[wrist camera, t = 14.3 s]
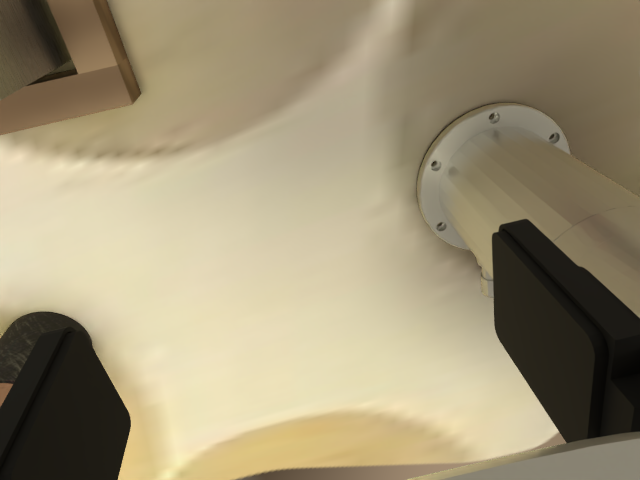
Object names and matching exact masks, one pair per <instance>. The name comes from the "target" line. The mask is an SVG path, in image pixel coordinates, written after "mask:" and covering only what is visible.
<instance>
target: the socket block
mask: <svg viewBox="0 0 640 480" xmlns="http://www.w3.org/2000/svg"><path fill="white" fill-rule="evenodd" d="M47 2H48V4H49V6H50V9H51V11H52V13H53V16H54V18H55V20H56V23H57V25H58V27H59V30H60V32H61V35H62V37H63V39H64V42H65V44H66V46H67V49H68V51H69V53H70V56H71V58H72V60H73V63H74V65H75V67H76V69H74V70H69V71H65V72H61V73H56V74H52V75H48V76H43V77H41V78H39V79H37V80H35V81H34V82H32V83H30V84H28V85H27V86H25V87H23V88H21V89H20V90H18V91H16V92H14V93H12V94H11V95H9V96H7V97H5V98H4V99H2V100H0V135H3V134H7V133H11V132H16V131H20V130H24V129H28V128H33V127H37V126H41V125H46V124H50V123H54V122H59V121H63V120H67V119H72V118H76V117H80V116H84V115H89V114H93V113H97V112H102V111H106V110H110V109H115V108H119V107H123V106H127V105H132V104H133V103H134V102H135V101H136V99H137V98H138V97H139V96H140V94H141V92H140V89H139V87H138V84H137V81H136V79H135V76H134V73H133V71H132V68H131V65H130V62H129V60H128V57H127V54H126V52H125V49H124V46H123V44H122V41H121V38H120V36H119V33H118V30H117V28H116V25H115V22H114V19H113V17H112V14H111V11H110V9H109V6H108V3H107V1H106V0H47Z"/></svg>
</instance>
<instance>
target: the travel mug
mask: <svg viewBox="0 0 640 480" xmlns="http://www.w3.org/2000/svg"><path fill="white" fill-rule="evenodd" d="M68 326H69V327H73V328H74V329H75V330H76V331H82V332H83V333H84V334H85V335H86V337H87V339H88V340H89V342H90V344H91V346H92V342H91V339H90V336H89V335H88V333H87V332H86V330H85V329H84V328H83V327H82V326H81V325H80V324H78V323H77V322H76V321H74V320H72V319H70V318H68V317H66V316H63V315H60V314H57V313H51V312H37V313H31V314H27V315H25V316H22V317H21V318H19V319H17V320H16V321H15V322H13V323H12V324H11V326H10V327H9V328H8V329H7V331H6V332H5V333H4V335H3V336H2V337H1V339H0V407H1V405H2V403H3V402H4V400H5V398H6V396H7V394H8V393H9V391H10V389H11V387H12V385H13V384H14V382H15V380H16V378H17V376H18V374H19V373H20V371H21V369H22V367H23V365H24V364H25V362H26V360H27V358H28V356H29V355H30V353H31V351H32V349H33V347H34V346H35V344H36V342H37V340H38V338H39V337H40V335H41V334H42V333H44V332H47V331H51V330H56V329H60V328H64V327H68Z"/></svg>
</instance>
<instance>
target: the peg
mask: <svg viewBox="0 0 640 480" xmlns="http://www.w3.org/2000/svg"><path fill="white" fill-rule="evenodd" d="M70 60H72V58H71V56H70V53H69V51H68V49H67V46H66V44H65V42H64V39H63V37H62V35H61V32H60V30H59V27H58V25H57V23H56V20H55V18H54V16H53V13H52V11H51V9H50V6H49V4H48V2H47V0H0V100H2V99H4V98H5V97H7V96H9V95H11V94H12V93H14V92H16V91H18V90H20V89H21V88H23V87H25V86H27V85H28V84H30V83H32V82H34V81H35V80H37V79H39V78H41V77H42V76H44V75H46V74H48V73H49V72H51V71H53V70H55V69H56V68H58V67H60V66H62V65H63V64H65V63H67V62H69V61H70Z"/></svg>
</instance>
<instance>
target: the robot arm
mask: <svg viewBox="0 0 640 480" xmlns="http://www.w3.org/2000/svg"><path fill="white" fill-rule="evenodd" d="M491 114H492V116H491V117H490V118H489V116H490V115H491ZM434 161H435V163H434V164H433V165H431V164H432V162H434ZM417 199H418V203H419V208H420V211H421V213H422V215H423V217H424V219H425V221H426V223H427V224H428V225H429V227H430V228H431V230H432V231H433V232H434V233H435V234H436V235H437V236H438V237H439V238H440V239H442V240H443V241H445V242H447V243H448V244H450V245H452V246H455V247H458V248H461V249H465V250H471V251H472V252H473V254H474V255H475V256H476V260H477V263H478V265H480V266H481V267H482V272H481V289H482V293H483V294H484V295H485V296H487V297H492V298H494V321H495V330H496V333H497V336H498V338H499V340H500V342H501V343H502V345H503V346H504V348H505V350H506V351H507V353H508V354H509V356H510V357H511V359H512V360H513V362H514V363H515V365H516V366H517V368H518V369H519V371H520V372H521V374H522V375H523V377H524V379H525V380H526V382H527V383H528V385H529V386H530V388H531V389H532V391H533V392H534V394H535V395H536V397H537V398H538V400H539V401H540V403H541V404H542V406H543V408H544V409H545V411H546V412H547V414H548V415H549V417H550V418H551V420H552V421H553V423H554V424H555V426H556V427H557V429H558V430H559V432H560V433H561V435H562V436H563V438H564V439H565V441H566V442H567V443H566V444H561V445H557V446H552V447H548V448H542V449H538V450H533V451H529V452H524V453H519V454H515V455H510V456H506V457H501V458H497V459H492V460H488V461H484V462H479V463H475V464H471V465H467V466H463V467H458V468H454V469H450V470H445V471H441V472H437V473H432V474H428V475H424V476H420V477H415V478H411V479H407V480H640V197H638V196H637V195H635V194H633V193H632V192H630V191H628V190H627V189H625V188H624V187H622V186H620V185H619V184H617V183H615V182H614V181H612V180H610V179H609V178H607V177H606V176H604V175H602V174H601V173H599V172H597V171H596V170H594V169H592V168H591V167H589V166H588V165H586V164H584V163H583V162H581V161H579V160H578V159H576V158H574V157H573V156H571V152H570V148H569V145H568V141H567V139H566V137H565V135H564V133H563V131H562V129H561V128H560V127H559V126H558V125H557V124H556V123H555V121H554V120H553V119H552V118H550V117H549V116H547V115H545V114H544V113H542V112H541V111H539V110H537V109H534V108H532V107H530V106H527V105H522V104H518V103H497V104H492V105H486V106H483V107H481V108H478V109H475V110H473V111H470V112H468V113H467V114H465V115H463V116H462V117H460V118H458V119H457V120H455V121H454V122H453V123H452V124H451V125H449V126H448V127H447V128H446V129H445V130H443V132H442V133H441V134H440V135H439V136H438V137H437V139H436V140H435V141H434V142H433V144H432V145H431V147H430V149H429V150H428V152H427V153H426V155H425V157H424V160H423V162H422V165H421V168H420V170H419V176H418V181H417ZM438 223H439V224H438ZM130 427H131V420H130V415H129V412H128V410H127V409H126V407H125V405H124V403H123V401H122V400H121V398H120V396H119V394H118V392H117V391H116V389H115V387H114V385H113V383H112V382H111V380H110V378H109V376H108V375H107V373H106V371H105V369H104V367H103V366H102V364H101V362H100V360H99V358H98V357H97V355H96V353H95V351H94V349H93V348H92V346H91V344H90V342H89V340H88V339H87V337H86V335H85V334H84V333H83V332H82V331H76V330H75V329H74V328H73V327H69V326H68V327H64V328H60V329H56V330H51V331H47V332H44V333H42V334H41V335H40V337H39V338H38V340H37V342H36V344H35V346H34V347H33V349H32V351H31V353H30V355H29V356H28V358H27V360H26V362H25V364H24V365H23V367H22V369H21V371H20V373H19V374H18V376H17V378H16V380H15V382H14V384H13V385H12V387H11V389H10V391H9V393H8V394H7V396H6V398H5V400H4V402H3V403H2V405H1V407H0V480H118V476H119V472H120V468H121V464H122V460H123V456H124V452H125V448H126V444H127V440H128V436H129V432H130Z"/></svg>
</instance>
